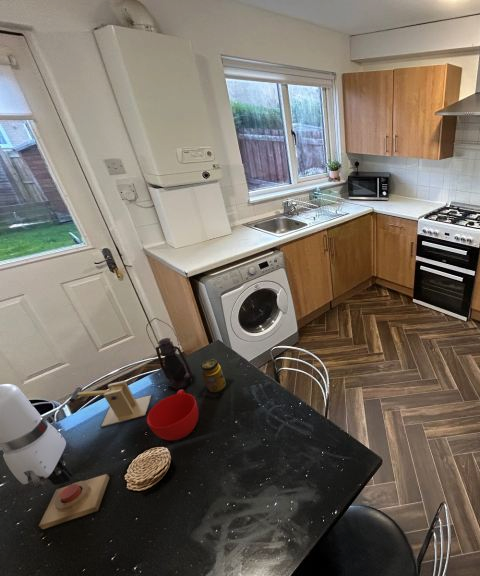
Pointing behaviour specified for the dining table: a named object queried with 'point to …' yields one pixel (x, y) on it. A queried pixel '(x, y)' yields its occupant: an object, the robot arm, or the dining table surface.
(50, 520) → the button block
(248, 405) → the dining table surface
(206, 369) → the condiment
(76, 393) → the lever
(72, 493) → the button
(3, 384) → the robot arm
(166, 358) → the lantern
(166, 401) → the ceramic cup
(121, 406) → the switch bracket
